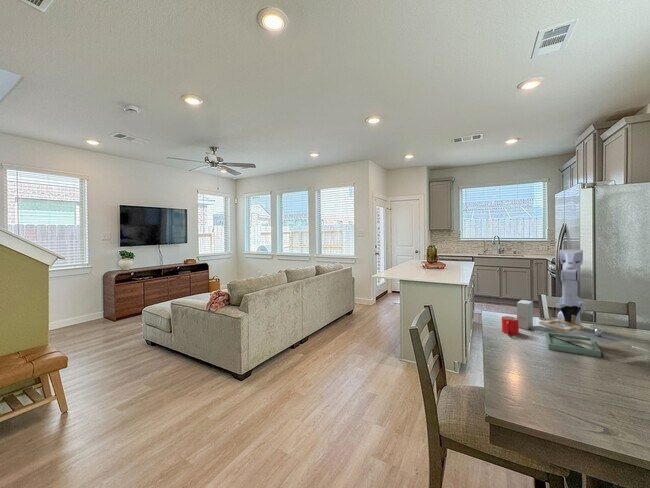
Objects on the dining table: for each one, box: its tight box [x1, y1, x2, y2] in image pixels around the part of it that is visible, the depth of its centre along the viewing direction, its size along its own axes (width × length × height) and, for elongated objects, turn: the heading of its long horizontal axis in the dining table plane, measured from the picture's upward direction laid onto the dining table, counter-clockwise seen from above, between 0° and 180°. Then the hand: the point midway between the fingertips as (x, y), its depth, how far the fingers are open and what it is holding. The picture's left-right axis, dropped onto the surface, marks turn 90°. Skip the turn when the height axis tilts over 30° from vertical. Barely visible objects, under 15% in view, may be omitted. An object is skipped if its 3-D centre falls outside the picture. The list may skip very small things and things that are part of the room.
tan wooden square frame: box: [538, 315, 585, 333], centre depth 141 cm, size 12×12×5 cm
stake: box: [589, 325, 607, 337], centre depth 144 cm, size 6×2×4 cm, turn 11°
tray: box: [545, 331, 602, 358], centre depth 137 cm, size 18×18×2 cm
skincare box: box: [516, 299, 534, 330], centre depth 165 cm, size 8×6×15 cm
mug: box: [501, 315, 520, 336], centre depth 156 cm, size 8×12×8 cm, turn 140°
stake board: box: [573, 329, 631, 344], centre depth 144 cm, size 15×15×2 cm
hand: (569, 321), depth 142 cm, fingers closed on tan wooden square frame
